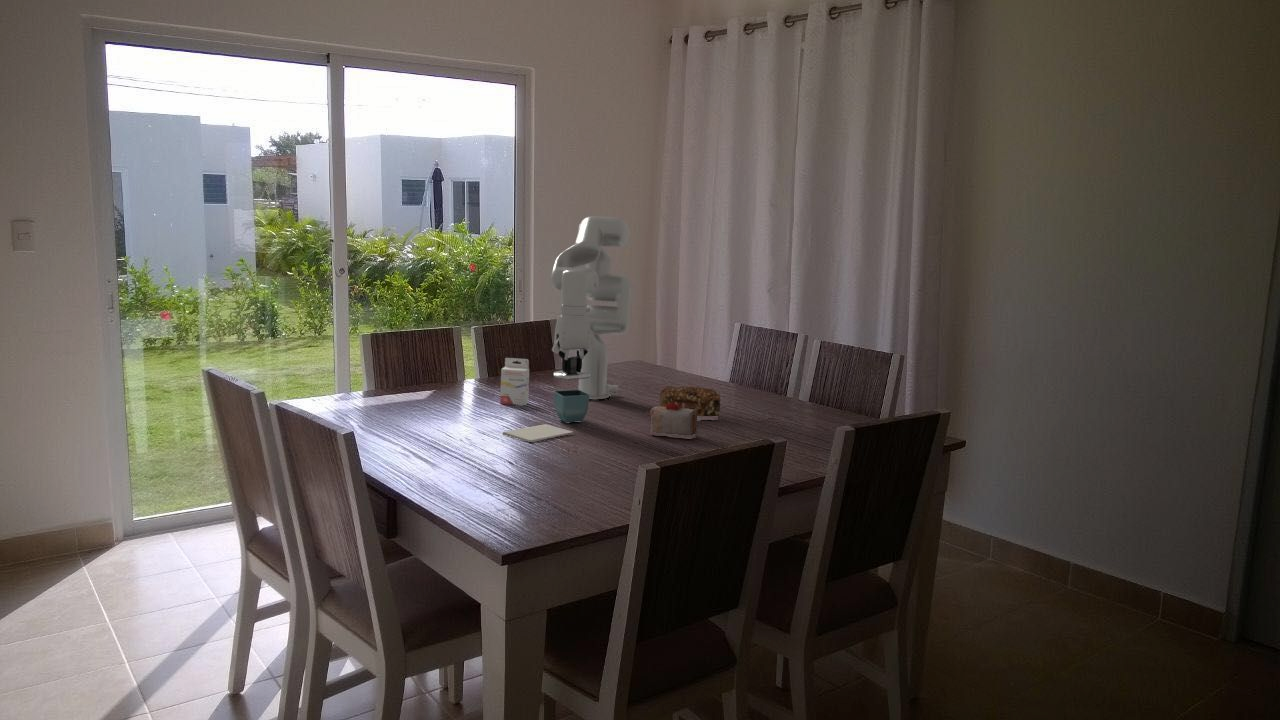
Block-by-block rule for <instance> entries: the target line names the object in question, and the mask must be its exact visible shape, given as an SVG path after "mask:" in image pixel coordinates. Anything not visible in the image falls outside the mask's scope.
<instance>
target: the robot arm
mask: <svg viewBox="0 0 1280 720" xmlns="http://www.w3.org/2000/svg"><path fill="white" fill-rule="evenodd" d="M576 235H577V236H576V239H575V242H574V244H573V245H570V246H569V247H568V248H566V249H564V251H562V252H561V253H560V254H559V255H558V256H557V257H556V259H555V260H554V264H553V268H552V271H551V276H550V285H551V287H552V288H553V289H554V290H555V291H556V292H561V293H560V294H561V298H560V299H561V300H560V301H561V302H560V314H559V315H558V316H557V319H556V323H555V330H554V340H553V342H554V343H553V346H552V348H551V351H552V352H553V353H555V354H557V355H558V356H559V357H560V359H561V361H562V362H561V371H563V372H565V373H569V372H570V360H568V356H570V350H575V357H578V363H577V372H579V373H580V372H581V371H583V372H588V373H590V377H589V378H586V379H578V389H577V390H581V391H583V392H585V393H587V394H589V395H590V396H589V399H593V398H594V399H597V398H606V397H609V396H610V397H611V393H610V392H612V391H613V392H614V391H619V390H620V389H619V385H618V384H613V385H612V384H609V383H608V382H607V378H608V372H607V371H608V350H609V349H608V344H607V342H606V341H605V339H604V338H603V336H602V335H615V336H616V335H621V336H622V335H625V334H627V333H628V331H629V329H630V322H631V321H630V319H631V317H630V316H631V306H632V305H631V302H632V282H631V279H630V277H628V276H626V275H624V274H615V273H614V274H611V269H612V259H611V257H610V255H609V253H608V252H607V251H606V250H605V248H604V247H612V248H613V247H614V248H615V247H616V248H617V247H618V248H623V247H624V248H625V247H626V246H627V245H628V244H629V241H630V238H631V237H630V236H631V230H630V227H629V224H628V223H627V222H626V221H625V220H624V219H623V218H620V217H617V216H603V215H602V216H601V215H590V216H586V217H585V218H583V219H582V220H581V222H580V223H579V225H578V232H577V234H576ZM580 266H585V267H580ZM587 300H588V301H591V302H599V303H614V304H616V305H615V306H614V305H613V306H612V305H597V304H594V305H593V304H588V303H587ZM587 304H588V305H587Z"/></svg>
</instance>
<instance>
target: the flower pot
mask: <svg viewBox="0 0 1280 720" xmlns="http://www.w3.org/2000/svg"><path fill="white" fill-rule="evenodd" d="M552 393H553V402H554V403H553V404H554V408H555V412H556V415H557V417H558V419H559V420H560V419H561V420H562V421H561V420H560V421H561V422H563V421H564V422H575V421H582V422H583V420H584V419H585V417H586V415H587V412H588V408H589V402H590V400H589V396H590V395H589V394H587V393H585V392H583V391H581V390H578V389H566V390H553V391H552ZM564 422H563V423H564Z"/></svg>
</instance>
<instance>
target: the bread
mask: <svg viewBox="0 0 1280 720" xmlns="http://www.w3.org/2000/svg"><path fill="white" fill-rule="evenodd" d="M675 402H677V404H679V405H680V406H681V408H686V409H694V410H697V416H719V417H720V411H721V396H720V393H718V391H716V390H715V389H710V388H704V387H699V386H672V385H670V386H669V385H666V386H663V387H662V388H661V391H660V393H659V407H667V405H668V404H670V403H673V404H675Z"/></svg>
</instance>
